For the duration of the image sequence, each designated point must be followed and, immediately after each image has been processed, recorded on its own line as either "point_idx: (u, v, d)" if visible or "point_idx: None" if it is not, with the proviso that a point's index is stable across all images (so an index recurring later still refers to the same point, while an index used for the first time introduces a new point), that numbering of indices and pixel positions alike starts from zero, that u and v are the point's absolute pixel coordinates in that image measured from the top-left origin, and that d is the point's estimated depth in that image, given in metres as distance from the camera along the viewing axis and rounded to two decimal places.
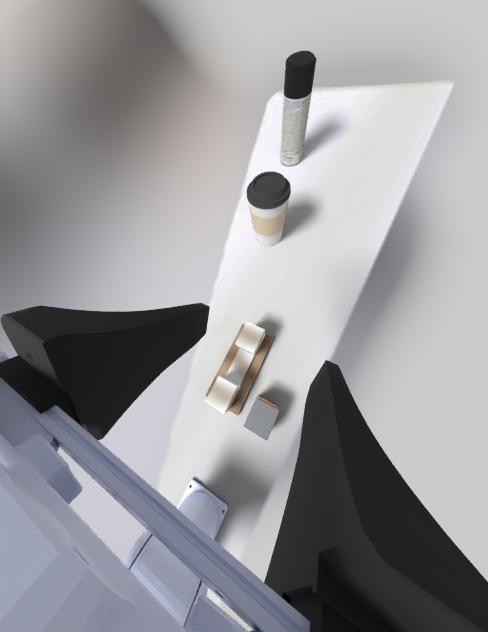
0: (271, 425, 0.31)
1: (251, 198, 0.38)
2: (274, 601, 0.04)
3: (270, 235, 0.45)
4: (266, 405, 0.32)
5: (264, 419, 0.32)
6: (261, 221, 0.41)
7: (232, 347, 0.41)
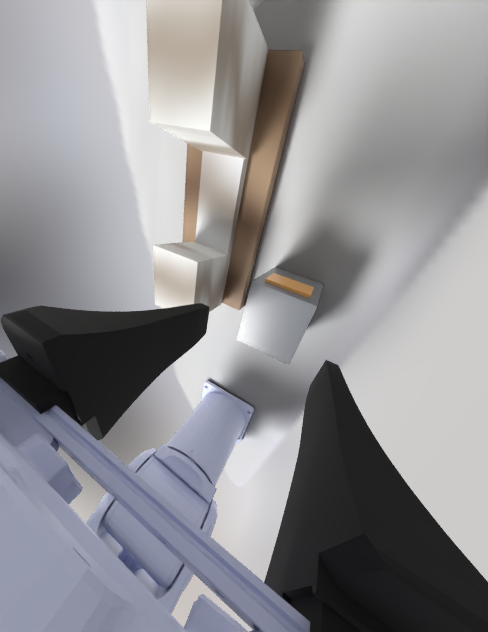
0: (297, 338, 0.12)
1: None
2: (274, 601, 0.04)
3: None
4: (280, 296, 0.12)
5: (277, 326, 0.13)
6: None
7: (190, 159, 0.15)
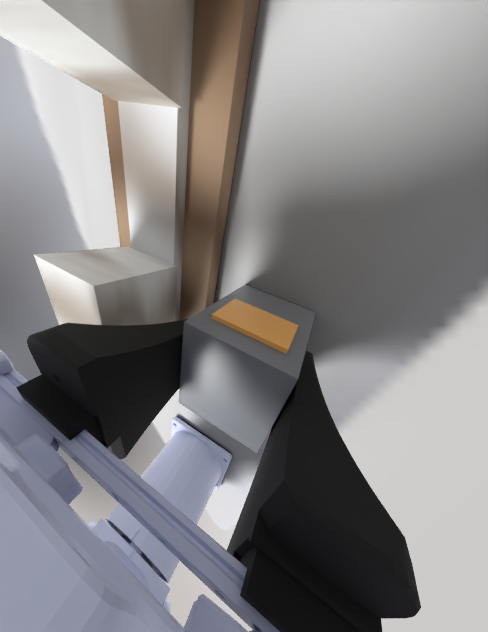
0: (265, 421, 0.07)
1: None
2: (274, 601, 0.04)
3: None
4: (231, 352, 0.06)
5: (233, 396, 0.07)
6: None
7: (110, 120, 0.10)
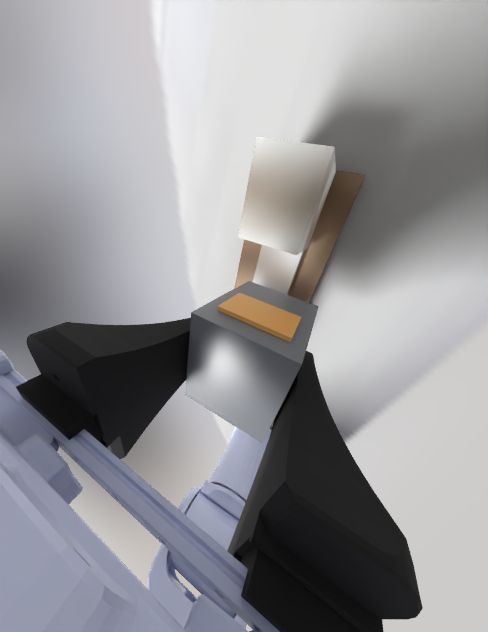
0: (271, 409, 0.07)
1: None
2: (274, 601, 0.04)
3: None
4: (237, 340, 0.07)
5: (238, 385, 0.08)
6: None
7: None
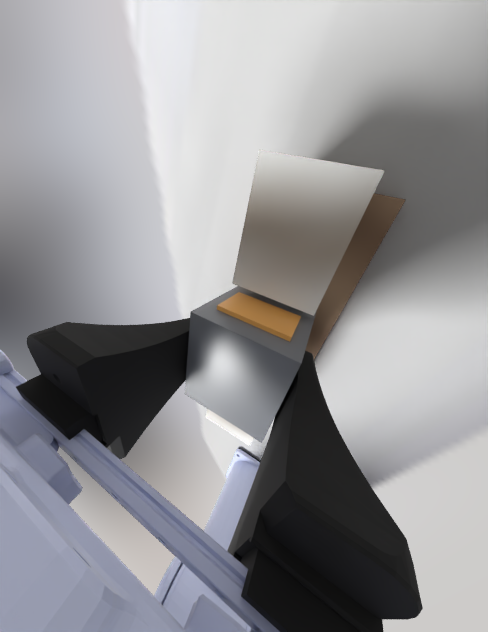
0: (270, 408, 0.07)
1: None
2: (274, 601, 0.04)
3: None
4: (237, 339, 0.07)
5: (238, 385, 0.08)
6: None
7: None
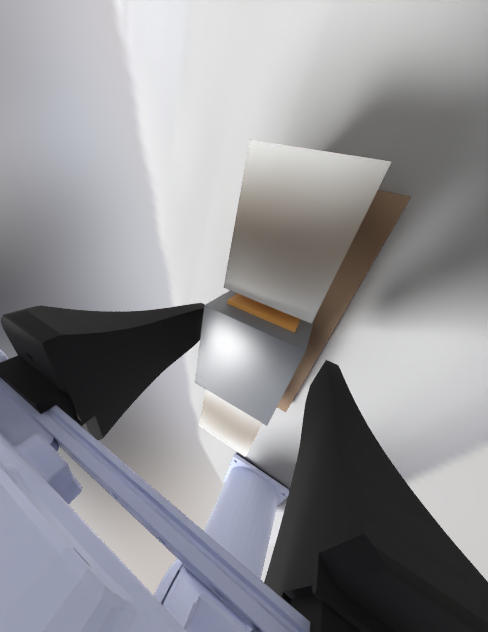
0: (276, 393, 0.08)
1: None
2: (274, 601, 0.04)
3: None
4: (247, 330, 0.07)
5: (247, 372, 0.08)
6: None
7: None
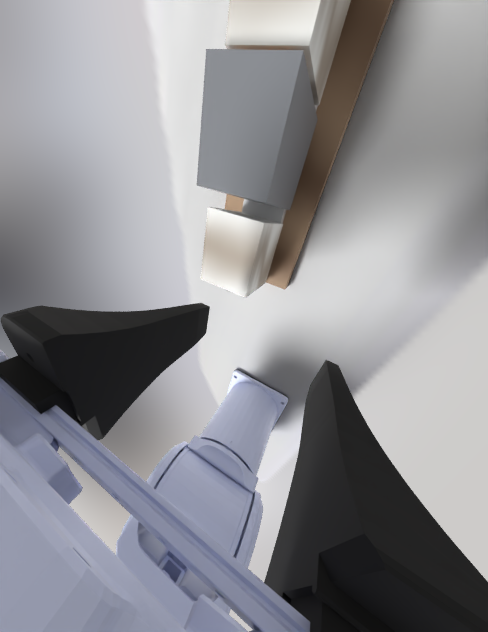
0: (275, 141, 0.08)
1: None
2: (274, 601, 0.04)
3: None
4: (247, 58, 0.08)
5: (247, 129, 0.09)
6: None
7: None
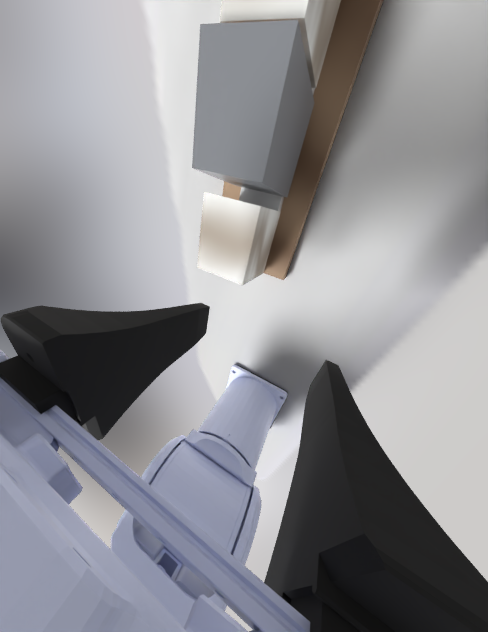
0: (270, 117, 0.08)
1: None
2: (274, 601, 0.04)
3: None
4: (242, 32, 0.08)
5: (242, 106, 0.08)
6: None
7: None
